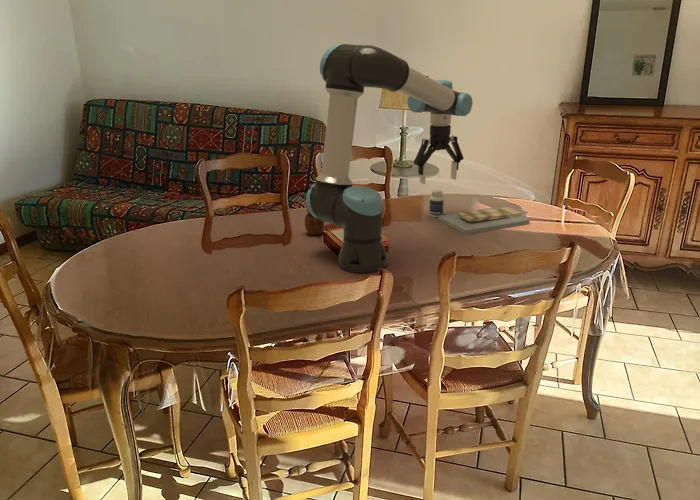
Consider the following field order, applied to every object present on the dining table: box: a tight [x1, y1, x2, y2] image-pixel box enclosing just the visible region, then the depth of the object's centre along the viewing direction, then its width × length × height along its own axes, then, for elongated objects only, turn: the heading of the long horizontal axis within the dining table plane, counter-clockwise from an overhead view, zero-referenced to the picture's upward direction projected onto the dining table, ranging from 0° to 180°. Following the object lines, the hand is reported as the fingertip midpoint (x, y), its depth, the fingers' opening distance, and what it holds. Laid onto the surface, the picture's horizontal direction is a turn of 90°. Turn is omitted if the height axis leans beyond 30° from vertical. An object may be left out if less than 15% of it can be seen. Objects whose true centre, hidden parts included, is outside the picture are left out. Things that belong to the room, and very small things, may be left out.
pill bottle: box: [428, 189, 445, 218], centre depth 226 cm, size 5×5×10 cm
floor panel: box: [437, 206, 530, 235], centre depth 220 cm, size 28×18×3 cm, turn 113°
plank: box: [457, 208, 510, 222], centre depth 220 cm, size 18×8×1 cm, turn 114°
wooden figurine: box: [304, 207, 325, 236], centre depth 207 cm, size 7×6×15 cm
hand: (438, 180), depth 223 cm, fingers open, 13 cm apart
